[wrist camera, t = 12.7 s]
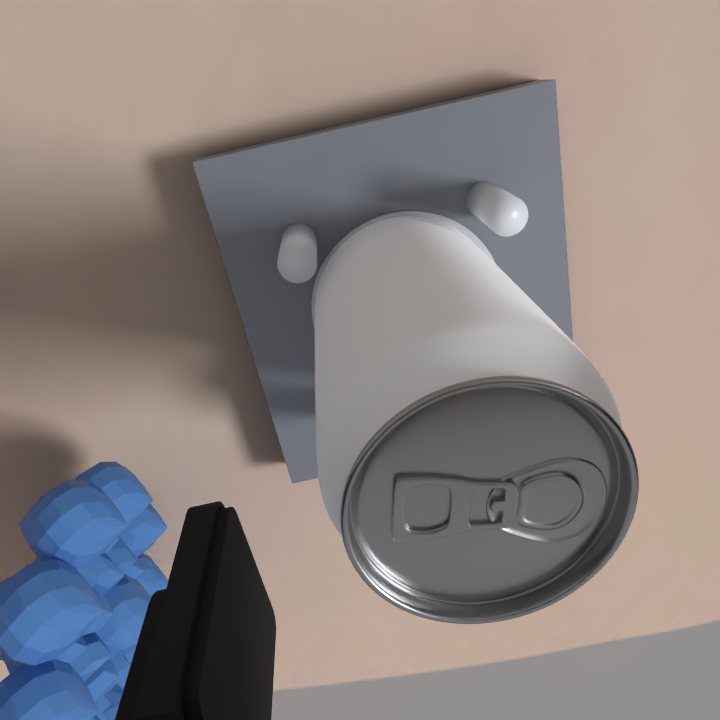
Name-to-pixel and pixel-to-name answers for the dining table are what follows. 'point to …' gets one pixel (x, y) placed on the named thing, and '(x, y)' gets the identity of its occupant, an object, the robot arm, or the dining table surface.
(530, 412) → the can
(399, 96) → the dining table surface
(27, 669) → the grapes
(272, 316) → the pin tray
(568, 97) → the dining table surface
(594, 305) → the dining table surface
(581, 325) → the dining table surface
